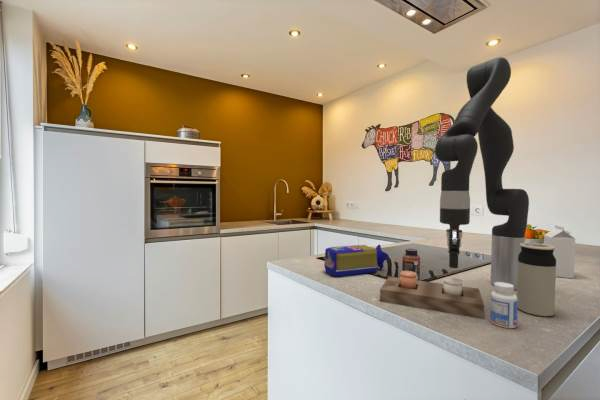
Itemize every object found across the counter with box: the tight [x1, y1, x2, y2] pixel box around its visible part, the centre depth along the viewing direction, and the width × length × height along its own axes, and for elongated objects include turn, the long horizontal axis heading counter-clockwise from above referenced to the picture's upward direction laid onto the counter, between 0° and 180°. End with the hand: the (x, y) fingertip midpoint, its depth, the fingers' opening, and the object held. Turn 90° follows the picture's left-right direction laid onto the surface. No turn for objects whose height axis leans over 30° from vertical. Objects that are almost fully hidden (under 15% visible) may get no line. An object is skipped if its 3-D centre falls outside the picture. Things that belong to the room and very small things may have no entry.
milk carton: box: [543, 225, 576, 279], centre depth 112 cm, size 7×7×19 cm
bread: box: [323, 244, 390, 278], centre depth 116 cm, size 10×25×10 cm, turn 111°
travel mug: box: [516, 242, 557, 317], centre depth 79 cm, size 8×8×18 cm
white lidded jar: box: [443, 276, 463, 296], centre depth 84 cm, size 5×5×5 cm
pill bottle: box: [490, 282, 518, 329], centre depth 71 cm, size 6×5×10 cm
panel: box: [379, 276, 485, 319], centre depth 86 cm, size 26×14×4 cm, turn 63°
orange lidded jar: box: [399, 271, 416, 290], centre depth 89 cm, size 5×5×5 cm
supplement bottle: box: [401, 248, 421, 281], centre depth 105 cm, size 6×6×11 cm
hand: (453, 267), depth 83 cm, fingers closed
